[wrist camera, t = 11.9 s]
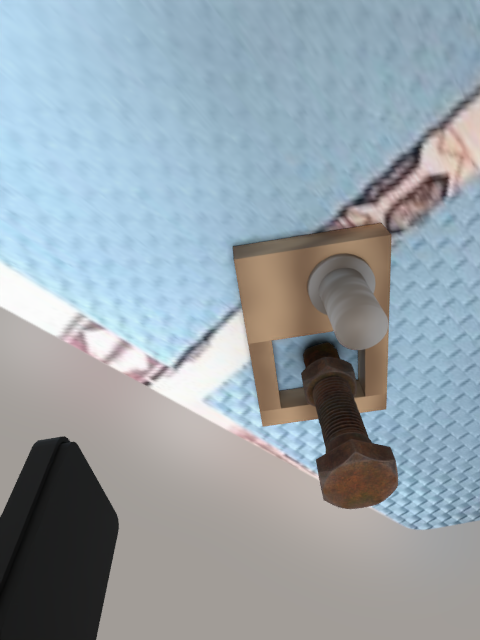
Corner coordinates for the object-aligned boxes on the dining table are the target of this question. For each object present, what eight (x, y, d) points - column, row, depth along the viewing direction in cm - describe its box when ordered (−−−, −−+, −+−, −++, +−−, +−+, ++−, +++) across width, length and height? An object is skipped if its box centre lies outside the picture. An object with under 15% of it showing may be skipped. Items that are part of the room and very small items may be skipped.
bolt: (348, 371, 44) (399, 506, 32) (297, 380, 45) (326, 517, 32) (343, 322, 41) (397, 449, 29) (288, 332, 42) (317, 463, 29)
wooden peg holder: (381, 223, 36) (424, 273, 29) (378, 391, 46) (410, 462, 38) (232, 246, 37) (237, 302, 29) (260, 408, 47) (269, 482, 39)
